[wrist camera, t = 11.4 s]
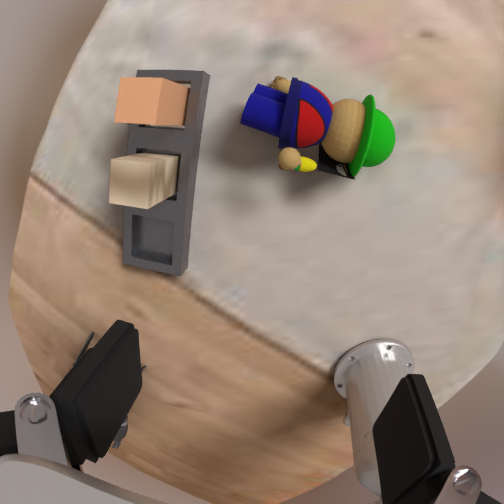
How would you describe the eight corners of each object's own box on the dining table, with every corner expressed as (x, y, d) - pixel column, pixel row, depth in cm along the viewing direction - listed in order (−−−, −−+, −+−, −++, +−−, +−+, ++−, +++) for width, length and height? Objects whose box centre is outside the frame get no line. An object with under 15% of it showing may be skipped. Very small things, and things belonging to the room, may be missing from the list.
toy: (228, 183, 30) (380, 219, 29) (229, 106, 22) (418, 153, 21) (255, 115, 36) (376, 144, 35) (261, 51, 28) (400, 85, 27)
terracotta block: (184, 125, 33) (155, 124, 26) (149, 122, 33) (114, 122, 26) (190, 88, 32) (162, 77, 24) (154, 86, 32) (120, 77, 24)
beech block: (176, 192, 36) (147, 209, 29) (143, 188, 36) (108, 203, 29) (180, 155, 35) (151, 163, 27) (146, 152, 35) (111, 159, 27)
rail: (187, 267, 41) (180, 276, 38) (132, 255, 41) (123, 263, 39) (210, 75, 32) (203, 71, 29) (147, 73, 32) (137, 70, 30)
